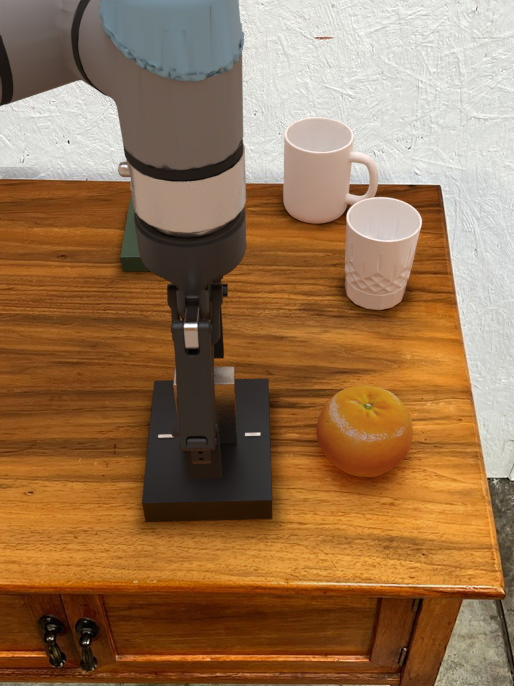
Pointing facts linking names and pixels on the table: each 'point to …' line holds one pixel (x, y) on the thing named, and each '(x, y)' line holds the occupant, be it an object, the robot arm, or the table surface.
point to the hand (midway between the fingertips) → (207, 411)
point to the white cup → (380, 251)
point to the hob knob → (222, 403)
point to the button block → (131, 245)
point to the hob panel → (236, 463)
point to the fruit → (364, 430)
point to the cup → (321, 169)
